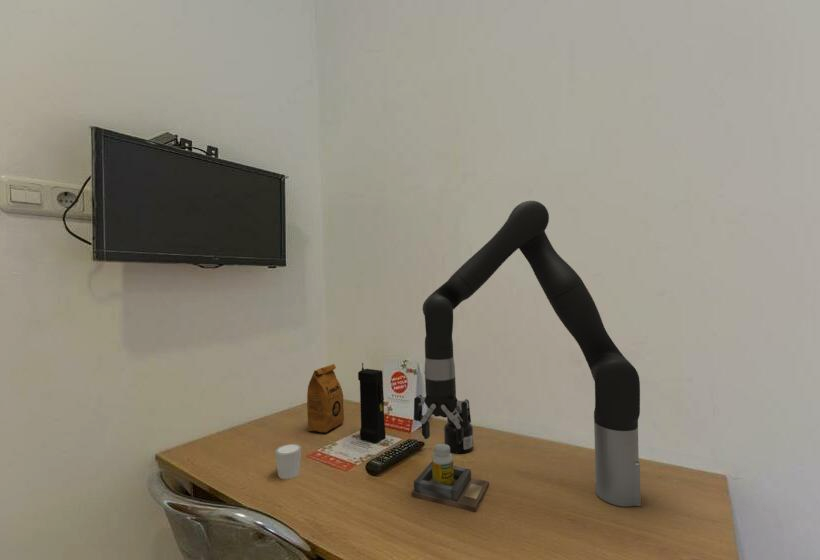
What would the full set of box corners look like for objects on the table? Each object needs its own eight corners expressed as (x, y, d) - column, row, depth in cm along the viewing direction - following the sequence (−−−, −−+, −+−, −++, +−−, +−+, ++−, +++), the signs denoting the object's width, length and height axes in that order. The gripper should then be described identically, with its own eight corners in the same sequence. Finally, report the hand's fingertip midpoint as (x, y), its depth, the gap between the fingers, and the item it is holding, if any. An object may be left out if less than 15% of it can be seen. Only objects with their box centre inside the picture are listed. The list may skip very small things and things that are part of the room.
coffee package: (348, 424, 144) (346, 364, 144) (325, 436, 133) (323, 371, 133) (328, 419, 149) (326, 361, 149) (303, 431, 138) (302, 369, 138)
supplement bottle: (444, 477, 102) (443, 440, 102) (458, 486, 98) (457, 447, 98) (428, 484, 99) (427, 446, 99) (441, 493, 95) (440, 453, 95)
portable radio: (389, 437, 131) (387, 362, 130) (378, 444, 126) (376, 366, 125) (370, 433, 135) (368, 360, 135) (359, 439, 130) (357, 364, 130)
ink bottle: (473, 455, 116) (472, 415, 116) (443, 454, 118) (442, 414, 118) (473, 441, 126) (472, 404, 126) (445, 440, 127) (444, 403, 127)
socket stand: (489, 485, 99) (488, 471, 99) (475, 511, 89) (475, 496, 89) (430, 473, 106) (430, 460, 106) (411, 496, 96) (411, 482, 95)
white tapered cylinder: (307, 470, 110) (306, 445, 110) (290, 482, 104) (289, 456, 104) (288, 466, 113) (287, 441, 113) (270, 477, 107) (269, 451, 107)
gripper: (472, 373, 98) (474, 438, 98) (420, 369, 104) (422, 430, 104) (462, 381, 91) (465, 450, 92) (407, 376, 98) (410, 442, 98)
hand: (442, 440), depth 98 cm, fingers open, 8 cm apart
